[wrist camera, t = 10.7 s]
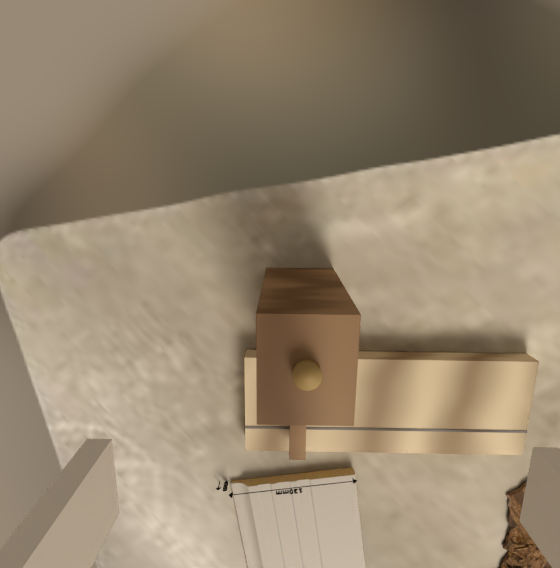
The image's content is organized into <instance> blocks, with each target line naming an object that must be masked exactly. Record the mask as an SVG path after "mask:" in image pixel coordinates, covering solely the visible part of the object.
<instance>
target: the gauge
mask: <svg viewBox="0 0 560 568" xmlns="http://www.w3.org/2000/svg"><path fill="white" fill-rule="evenodd" d="M360 320H361V314H360V313H359V311H358V309H357V308H356V306H355V304H354V303H353V301H352V299H351V298H350V296H349V294H348V293H347V291H346V289H345V287H344V286H343V284H342V282H341V281H340V279H339V277H338V276H337V274H336V272H335V271H334V269H328V268H266V272H265V276H264V281H263V285H262V290H261V294H260V299H259V303H258V308H257V312H256V388H257V425H290V434H289V459H293V460H305V453H306V425H309V426H354V417H355V401H356V385H357V369H358V353H359V336H360Z"/></svg>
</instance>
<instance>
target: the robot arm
mask: <svg viewBox="0 0 560 568" xmlns="http://www.w3.org/2000/svg"><path fill="white" fill-rule="evenodd" d="M118 514H119V505H118V495H117V486H116V476H115V466H114V457H113V447H112V439H87V440H86V441H85V442H84V444H83V445H82V446H81V448H80V449H79V450H78V451H77V453H76V454H75V455H74V456H73V458H72V459H71V460H70V461H69V463H68V464H67V465H66V467H65V468H64V469H63V470H62V472H61V473H60V474H59V476H58V477H57V478H56V479H55V480H54V482H53V483H52V484H51V485H50V487H49V488H48V489H47V491H46V492H45V493H44V494H43V496H42V497H41V498H40V500H39V501H38V502H37V503H36V505H35V506H34V507H33V508H32V510H31V511H30V512H29V514H28V515H27V516H26V517H25V518H24V520H23V521H22V522H21V523H20V525H19V526H18V527H17V529H16V530H15V531H14V533H13V534H12V535H11V536H10V537H9V539H8V540H7V541H6V543H5V544H4V545H3V546H2V548H1V549H0V568H91V566H92V565H93V563H94V561H95V559H96V557H97V555H98V553H99V551H100V549H101V547H102V545H103V543H104V541H105V539H106V537H107V535H108V533H109V531H110V529H111V528H112V526H113V524H114V522H115V520H116V518H117V516H118ZM520 523H521V524H522V525H523V527H524V528H525V530H526V531H527V533H528V534H529V535H530V537H531V538H532V540H533V541H534V543H535V544H536V546H537V547H538V548H539V550H540V551H541V553H542V554H543V556H544V557H545V558H546V560H547V561H548V563H549V564H550V566H551V567H552V568H560V449H559V448H546V447H533V451H532V456H531V462H530V467H529V472H528V478H527V483H526V489H525V494H524V499H523V505H522V510H521V515H520Z"/></svg>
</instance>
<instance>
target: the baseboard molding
mask: <svg viewBox="0 0 560 568" xmlns="http://www.w3.org/2000/svg"><path fill="white" fill-rule="evenodd" d="M356 481H357V480H356V479H355V473H354V470H353V468H352V467H350V468H341V469H332V470H323V471H315V472H306V473H297V474H288V475H279V476H270V477H261V478H252V479H243V480H235V481H231V486H232V491H233V492H232V493H231V494H229V496H230V497H231V498H232V495H233V496H234V501H235V506H236V511H237V516H238V521H239V526H240V531H241V536H242V541H243V546H244V551H245V556H246V561H247V566H248V568H365V559H364V551H363V542H362V533H361V524H360V515H359V506H358V497H357V488H356ZM226 484H227V485H226ZM219 485H220V482H219ZM224 486H225V487H223V491H227V486H228V482H227V481H225V482H224ZM220 488H221V487H220ZM220 488H219V486H218V488H216V489H217V490H219V489H220ZM224 489H226V490H224Z"/></svg>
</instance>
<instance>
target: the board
mask: <svg viewBox="0 0 560 568" xmlns="http://www.w3.org/2000/svg"><path fill="white" fill-rule="evenodd" d="M538 365H539V361H537V360H536V359H534V358H533V357H531V356H530V355H528V354H520V353H450V352H380V351H359V353H358V369H357V385H356V401H355V417H354V426H309V425H306V451H319V452H380V453H440V454H500V455H522V453H523V448H524V442H525V437H526V433H527V426H528V420H529V415H530V409H531V404H532V398H533V393H534V387H535V382H536V376H537V371H538ZM244 369H245V450H259V451H289V434H290V425H257V388H256V350H246V353H245V357H244Z"/></svg>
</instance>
